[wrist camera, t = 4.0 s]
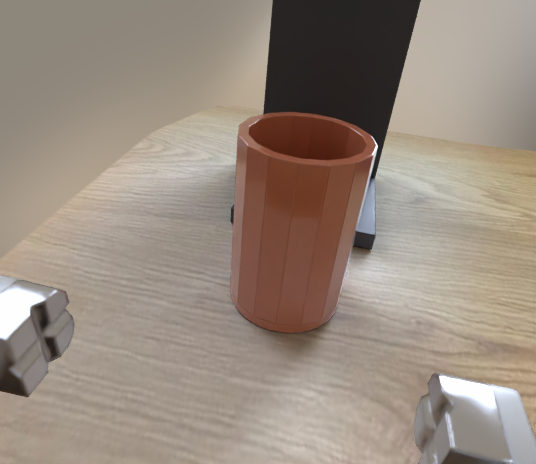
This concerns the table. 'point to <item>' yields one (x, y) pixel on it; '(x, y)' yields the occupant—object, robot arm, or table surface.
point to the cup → (296, 216)
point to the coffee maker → (340, 68)
